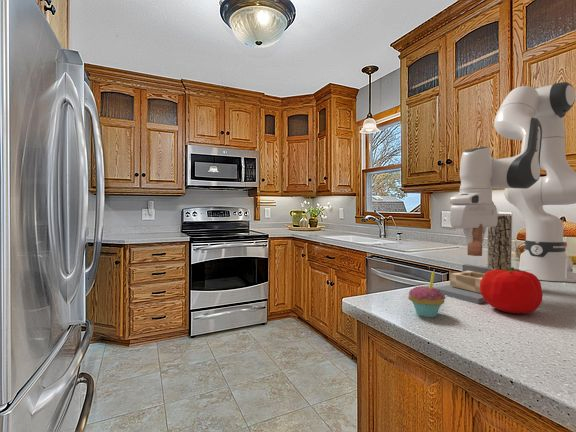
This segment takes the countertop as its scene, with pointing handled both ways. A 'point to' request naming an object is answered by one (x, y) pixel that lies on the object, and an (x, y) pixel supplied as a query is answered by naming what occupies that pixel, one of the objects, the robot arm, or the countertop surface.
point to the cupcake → (426, 299)
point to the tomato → (511, 290)
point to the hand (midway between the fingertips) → (474, 242)
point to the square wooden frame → (466, 280)
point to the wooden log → (500, 243)
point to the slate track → (463, 293)
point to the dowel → (476, 242)
